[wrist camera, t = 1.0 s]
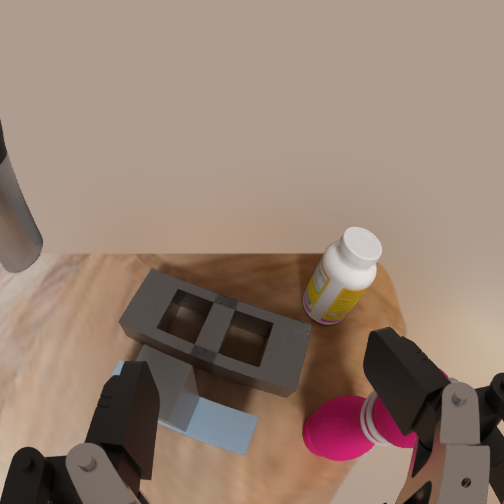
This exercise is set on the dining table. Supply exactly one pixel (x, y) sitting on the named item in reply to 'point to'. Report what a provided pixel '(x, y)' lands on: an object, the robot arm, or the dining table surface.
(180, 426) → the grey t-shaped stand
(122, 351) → the dining table surface
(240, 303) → the dark grey rectangular block
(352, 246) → the supplement bottle
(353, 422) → the pepper mill
